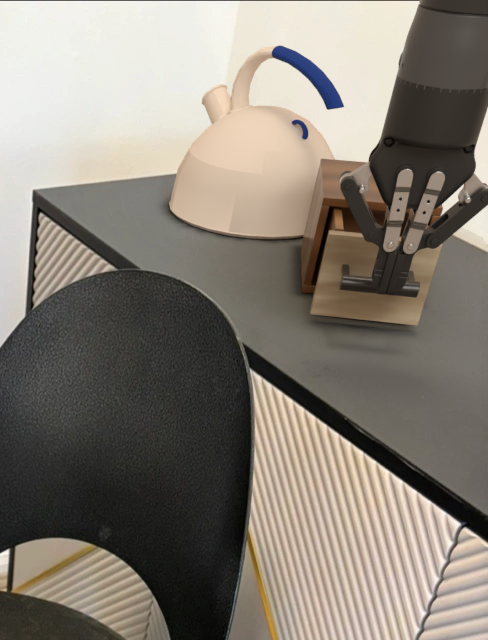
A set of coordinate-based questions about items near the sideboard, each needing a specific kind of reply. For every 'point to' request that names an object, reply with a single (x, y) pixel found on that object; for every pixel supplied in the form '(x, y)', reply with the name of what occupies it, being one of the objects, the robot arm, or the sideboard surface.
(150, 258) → the sideboard surface
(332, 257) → the drawer
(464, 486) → the sideboard surface
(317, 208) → the wooden nightstand
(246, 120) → the kettle
